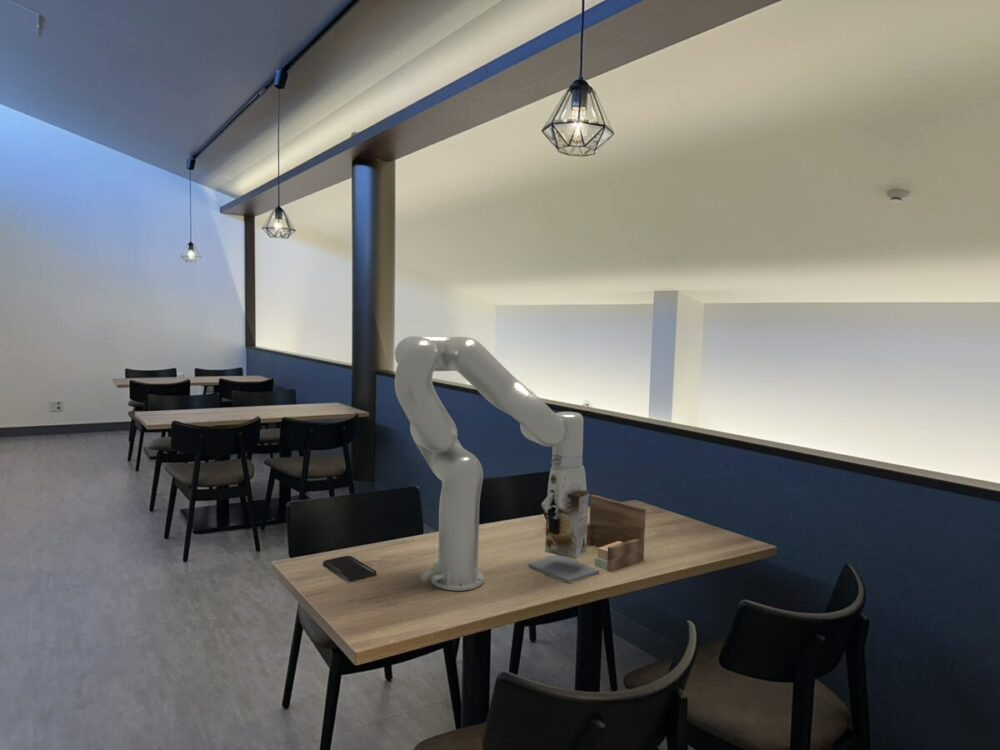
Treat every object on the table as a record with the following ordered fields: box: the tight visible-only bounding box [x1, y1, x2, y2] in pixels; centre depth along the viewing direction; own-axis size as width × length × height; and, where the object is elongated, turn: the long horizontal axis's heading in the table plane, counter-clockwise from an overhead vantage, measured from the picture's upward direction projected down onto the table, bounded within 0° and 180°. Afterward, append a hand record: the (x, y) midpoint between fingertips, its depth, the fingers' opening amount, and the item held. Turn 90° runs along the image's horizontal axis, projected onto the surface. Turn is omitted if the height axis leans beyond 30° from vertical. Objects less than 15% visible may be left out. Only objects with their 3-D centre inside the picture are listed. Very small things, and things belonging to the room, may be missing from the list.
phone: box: [322, 555, 377, 583], centre depth 163 cm, size 8×1×15 cm
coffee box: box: [544, 490, 590, 560], centre depth 166 cm, size 9×6×16 cm
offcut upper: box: [597, 541, 623, 561], centre depth 173 cm, size 9×4×2 cm, turn 134°
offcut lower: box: [594, 556, 607, 570], centre depth 173 cm, size 10×4×2 cm, turn 135°
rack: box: [586, 494, 647, 572], centre depth 178 cm, size 14×18×14 cm
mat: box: [528, 555, 600, 584], centre depth 167 cm, size 11×14×1 cm
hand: (565, 529), depth 167 cm, fingers closed on coffee box, 7 cm apart
